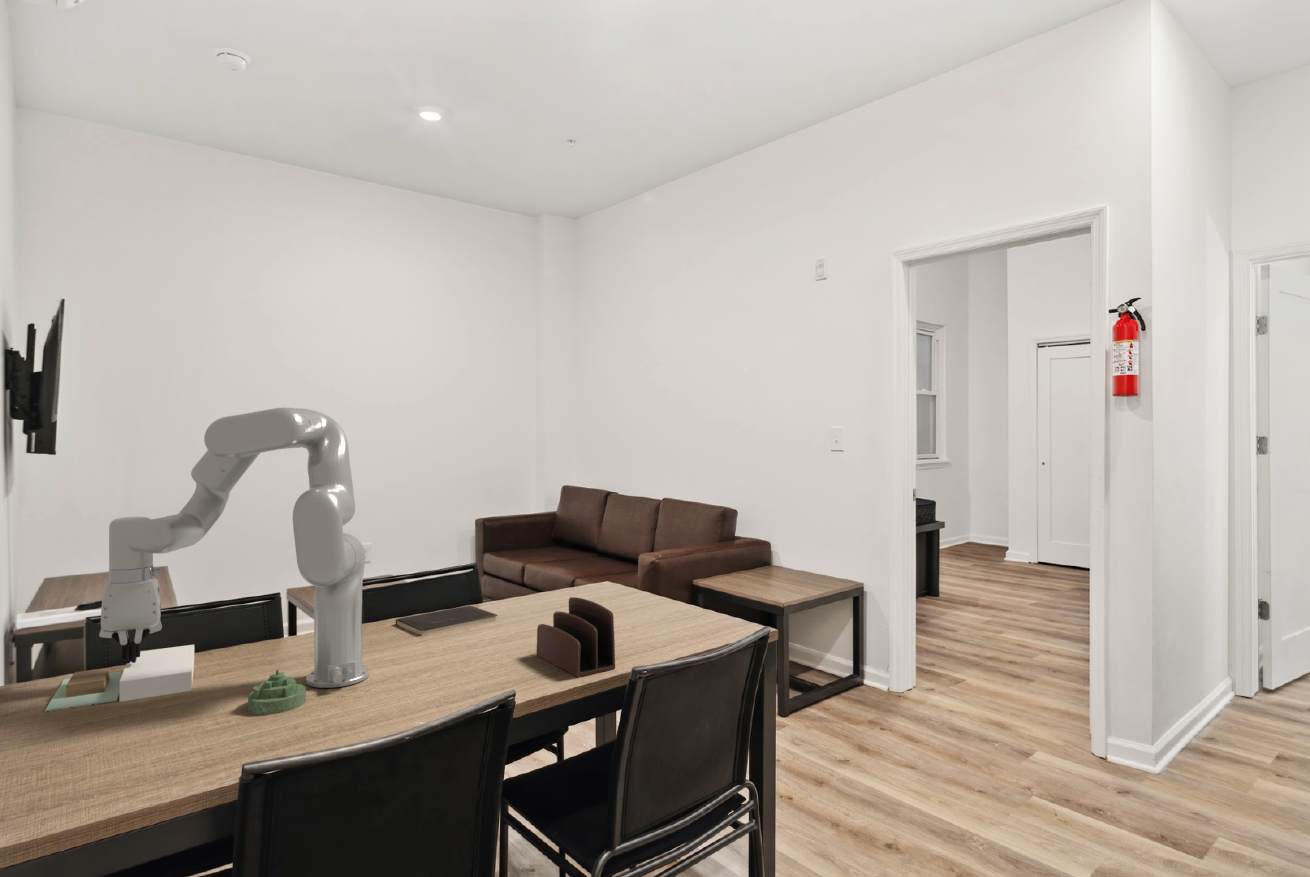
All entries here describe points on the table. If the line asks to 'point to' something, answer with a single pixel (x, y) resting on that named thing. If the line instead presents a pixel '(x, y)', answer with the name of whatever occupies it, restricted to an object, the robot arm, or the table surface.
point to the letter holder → (579, 639)
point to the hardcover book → (446, 620)
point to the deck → (158, 673)
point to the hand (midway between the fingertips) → (131, 661)
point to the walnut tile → (88, 682)
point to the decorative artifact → (276, 695)
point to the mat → (84, 700)
